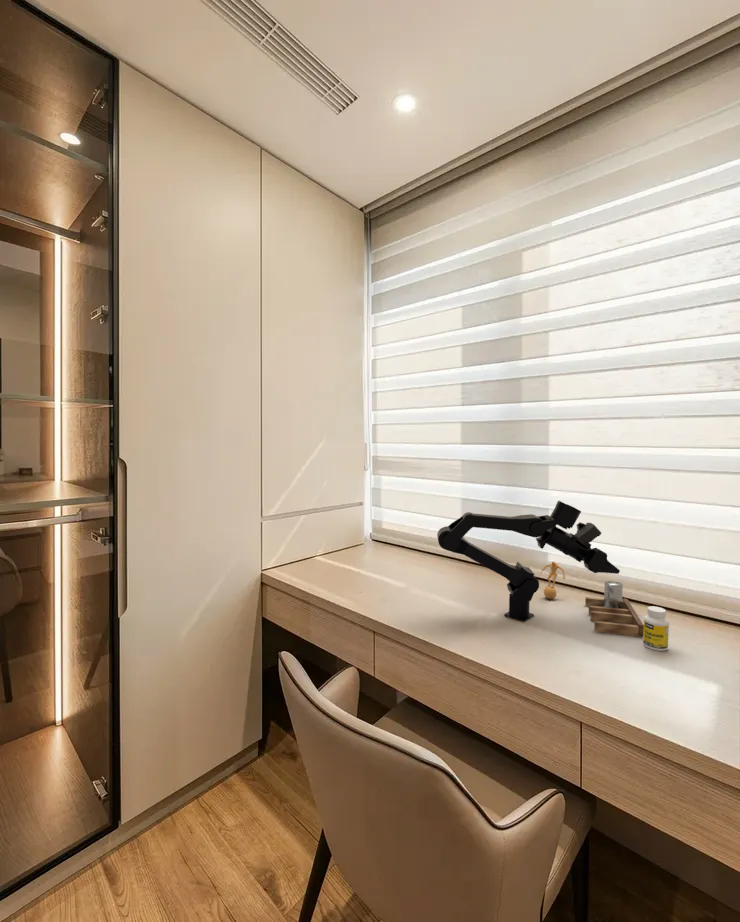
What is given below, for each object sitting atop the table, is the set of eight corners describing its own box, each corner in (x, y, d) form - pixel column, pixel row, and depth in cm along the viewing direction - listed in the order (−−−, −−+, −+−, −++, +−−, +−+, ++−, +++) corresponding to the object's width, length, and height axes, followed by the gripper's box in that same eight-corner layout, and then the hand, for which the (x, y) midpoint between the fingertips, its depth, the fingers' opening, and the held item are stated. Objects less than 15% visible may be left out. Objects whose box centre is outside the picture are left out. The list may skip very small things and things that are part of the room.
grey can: (618, 617, 137) (619, 587, 137) (601, 612, 141) (602, 583, 140) (623, 612, 141) (624, 583, 140) (607, 608, 144) (607, 579, 144)
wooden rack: (595, 631, 127) (595, 619, 127) (585, 604, 147) (585, 594, 147) (643, 637, 124) (643, 625, 124) (626, 609, 144) (627, 598, 143)
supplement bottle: (640, 646, 118) (641, 608, 118) (646, 640, 122) (647, 603, 121) (664, 653, 114) (666, 614, 114) (670, 646, 118) (671, 608, 118)
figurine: (535, 596, 154) (535, 561, 154) (543, 592, 159) (544, 557, 158) (559, 603, 148) (560, 566, 148) (567, 599, 152) (568, 562, 152)
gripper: (589, 523, 126) (642, 551, 125) (566, 512, 144) (612, 536, 143) (568, 559, 127) (620, 587, 126) (548, 543, 145) (594, 567, 144)
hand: (612, 567), depth 135 cm, fingers open, 9 cm apart
